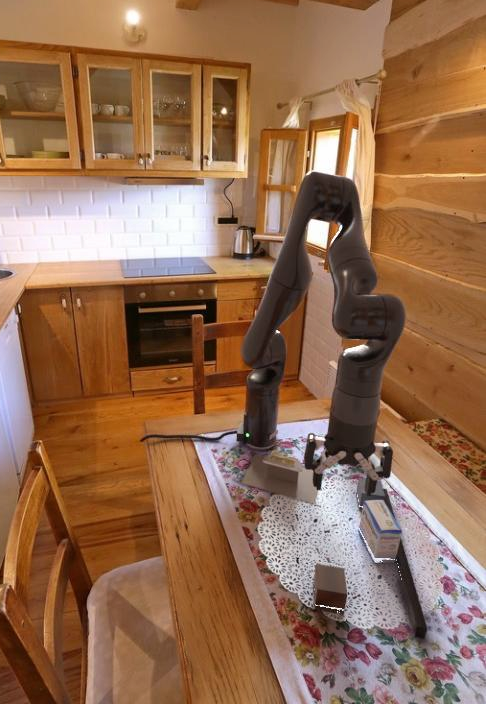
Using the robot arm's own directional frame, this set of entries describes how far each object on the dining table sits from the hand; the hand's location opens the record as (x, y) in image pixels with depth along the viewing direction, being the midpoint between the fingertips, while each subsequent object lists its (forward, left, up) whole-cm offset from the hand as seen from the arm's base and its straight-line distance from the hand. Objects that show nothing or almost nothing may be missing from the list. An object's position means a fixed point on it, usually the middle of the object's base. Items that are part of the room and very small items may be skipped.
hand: (342, 489), depth 72 cm
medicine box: (+10, +7, -19) cm, 23 cm away
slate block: (+10, +19, -19) cm, 29 cm away
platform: (-10, +24, -19) cm, 32 cm away
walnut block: (-1, -6, -19) cm, 20 cm away
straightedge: (+14, +6, -19) cm, 24 cm away
